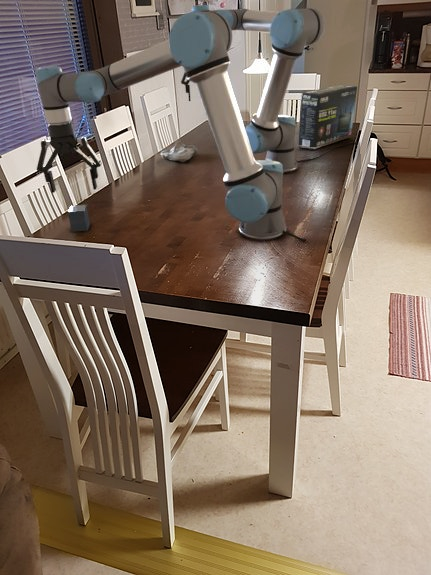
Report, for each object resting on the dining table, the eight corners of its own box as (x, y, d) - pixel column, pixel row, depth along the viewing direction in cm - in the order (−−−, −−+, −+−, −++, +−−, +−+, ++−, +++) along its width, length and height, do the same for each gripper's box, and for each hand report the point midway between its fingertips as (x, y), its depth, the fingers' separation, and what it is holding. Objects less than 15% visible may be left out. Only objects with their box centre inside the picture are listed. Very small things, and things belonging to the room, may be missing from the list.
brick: (90, 224, 161) (86, 204, 157) (87, 230, 156) (83, 210, 152) (75, 225, 160) (70, 205, 157) (71, 231, 156) (67, 211, 152)
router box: (314, 151, 231) (318, 94, 217) (296, 148, 237) (299, 92, 224) (352, 138, 251) (358, 85, 238) (335, 135, 258) (340, 83, 245)
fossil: (184, 156, 217) (163, 136, 220) (174, 174, 223) (154, 154, 227) (205, 153, 231) (186, 134, 234) (195, 171, 237) (176, 152, 240)
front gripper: (102, 117, 144) (114, 183, 154) (22, 123, 143) (39, 189, 154) (98, 122, 137) (111, 190, 148) (14, 128, 137) (33, 196, 147)
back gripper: (230, 45, 201) (231, 97, 212) (173, 48, 200) (177, 99, 211) (232, 46, 194) (232, 99, 205) (173, 49, 193) (177, 102, 204)
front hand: (74, 189), depth 151 cm, fingers open, 13 cm apart
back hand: (204, 100), depth 208 cm, fingers open, 13 cm apart
